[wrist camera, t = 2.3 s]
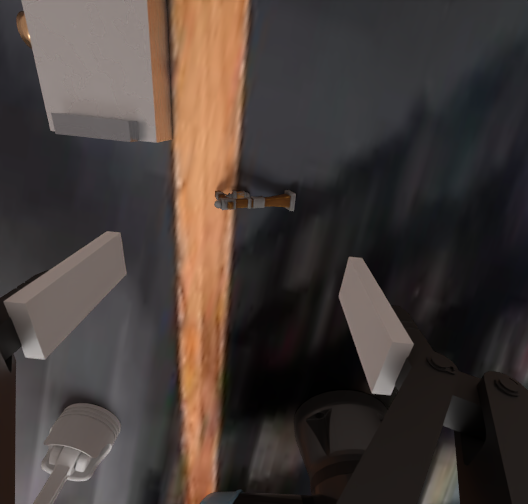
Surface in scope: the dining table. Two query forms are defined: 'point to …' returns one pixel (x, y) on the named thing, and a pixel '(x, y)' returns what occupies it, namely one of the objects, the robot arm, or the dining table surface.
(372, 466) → the robot arm
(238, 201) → the wooden post with brackets
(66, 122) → the machine vise
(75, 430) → the engine component
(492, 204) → the dining table surface
